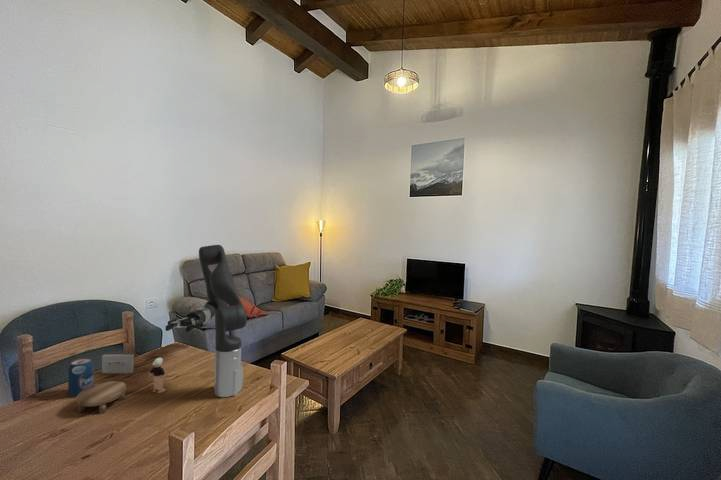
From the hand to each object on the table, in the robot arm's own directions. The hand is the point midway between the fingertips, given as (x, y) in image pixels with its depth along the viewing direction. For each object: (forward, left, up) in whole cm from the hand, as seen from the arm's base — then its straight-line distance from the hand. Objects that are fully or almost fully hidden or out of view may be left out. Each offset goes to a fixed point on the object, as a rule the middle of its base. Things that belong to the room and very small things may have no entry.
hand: (176, 329), depth 127 cm
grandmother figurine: (0, +11, -20) cm, 23 cm away
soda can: (+26, +16, -20) cm, 36 cm away
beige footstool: (+12, +22, -20) cm, 32 cm away
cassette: (+26, 0, -21) cm, 33 cm away
